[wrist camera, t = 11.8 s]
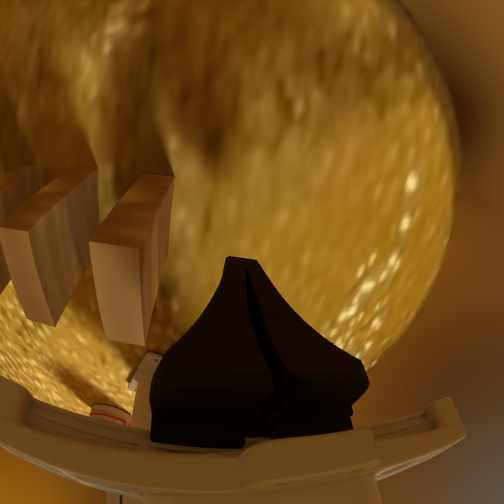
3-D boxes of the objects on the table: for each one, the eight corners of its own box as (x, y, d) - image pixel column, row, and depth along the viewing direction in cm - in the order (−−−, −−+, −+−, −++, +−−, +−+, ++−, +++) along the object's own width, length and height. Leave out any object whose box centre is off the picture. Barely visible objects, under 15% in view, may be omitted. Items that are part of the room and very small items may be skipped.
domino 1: (37, 165, 12) (-38, 220, 6) (45, 236, 15) (-8, 306, 9) (18, 165, 12) (-55, 217, 6) (27, 233, 15) (-27, 299, 9)
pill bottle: (83, 402, 28) (69, 472, 19) (116, 402, 28) (104, 481, 19) (109, 421, 32) (101, 484, 22) (142, 421, 31) (136, 491, 22)
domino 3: (174, 176, 14) (139, 248, 8) (167, 254, 17) (144, 346, 11) (142, 172, 14) (88, 241, 8) (139, 250, 16) (106, 339, 10)
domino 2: (98, 168, 13) (27, 231, 7) (100, 244, 16) (55, 327, 10) (72, 167, 13) (-4, 226, 7) (77, 241, 15) (26, 318, 10)
